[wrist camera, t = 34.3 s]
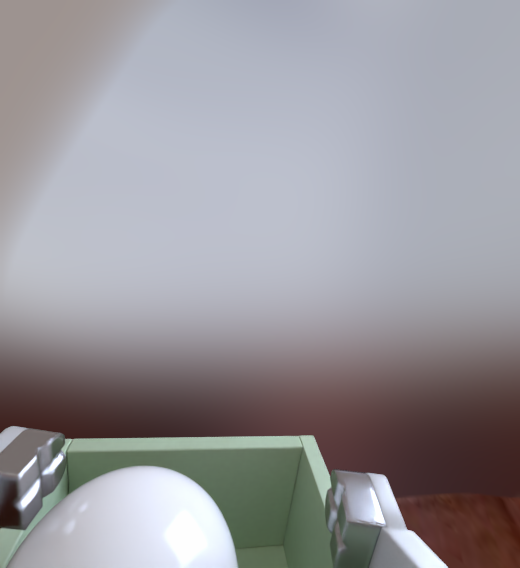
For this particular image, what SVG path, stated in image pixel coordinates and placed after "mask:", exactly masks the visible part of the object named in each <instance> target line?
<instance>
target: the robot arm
mask: <svg viewBox="0 0 520 568" xmlns="http://www.w3.org/2000/svg"><path fill="white" fill-rule="evenodd" d="M64 445H65V436H64V435H63V434H61V433H55V432H49V431H43V430H37V429H30V428H22V427H16V426H12V427H9V428H7V429H5V430H4V431H3V432H2V433H1V434H0V528H5V529H15V530H26V529H27V527H28V526H29V524H30V523H31V522H32V520H33V519H34V518H35V516H36V515H37V514H38V512H39V511H40V509H41V508H42V507H43V498H44V497H45V496H47V495H49V494H50V493H52V492H54V490H55V489H56V487H57V486H58V484H59V483H60V481H61V479H62V477H63V474H64V472H65V468H66V463H67V462H66V455H65V454H64V453H63V451H62V450H61V449H62V448H63V446H64ZM330 481H331V488H330V489H328V490H327V494H326V499H325V519H326V526H327V529H328V530H329V531H330V533H331V534H332V536H331V540H330V544H329V545H330V551H331V557H332V563H333V568H448V567H447V566H446V565H445V564H444V563H443V562H442V560H441V559H440V558H439V557H438V556H437V555H436V554H435V553H434V552H433V551H432V550H431V549H430V548H429V547H428V546H427V545H426V544H425V543H424V542H423V541H422V540H421V539H420V538H419V537H418V536H417V535H416V534H415V533H414V532H413V531H409V530H407V528H406V525H405V523H404V520H403V518H402V515H401V513H400V510H399V508H398V505H397V503H396V500H395V498H394V495H393V493H392V491H391V488H390V485H389V483H388V480H387V478H386V477H385V476H384V475H379V474H371V473H363V472H354V471H347V470H338V469H333V471H332V473H331V477H330Z"/></svg>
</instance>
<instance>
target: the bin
mask: <svg viewBox="0 0 520 568" xmlns="http://www.w3.org/2000/svg"><path fill="white" fill-rule="evenodd" d="M61 450H62V451H63V453H64V454H65V455H66V462H67V463H66V468H65V472H64V474H63V477H62V479H61V481H60V483H59V484H58V486H57V487H56V489H55V490H54V492H52V493H50V494H49V495H47V496H45V497H44V498H43V507H42V508H41V509H40V511H39V512H38V514H37V515H36V516H35V518H34V519H33V520H32V522H31V523H30V524H29V526H28V527H27V529H26V530H15V529H5V528H1V529H0V568H6V566H7V565H8V563H9V561H10V560H11V558H12V556H13V555H14V553H15V552H16V550H17V549H18V547H19V546H20V544H21V543H22V542H23V540H24V539H25V538H26V536H27V535H28V534H29V533H30V531H31V530H32V529H33V528H34V527H35V525H36V524H37V523H38V522H39V521H40V520H41V519H42V518H43V517H44V516H45V515H46V514H47V513H48V512H49V511H50V510H51V509H52V508H53V507H54V506H55V505H56V504H57V503H58V502H60V501H61V500H62V499H63V498H65V497H66V496H67V495H68V494H70V493H71V492H73V491H74V490H75V489H77V488H78V487H80V486H82V485H83V484H85V483H87V482H88V481H90V480H92V479H94V478H96V477H98V476H101V475H103V474H105V473H108V472H111V471H114V470H118V469H121V468H126V467H132V466H158V467H164V468H168V469H171V470H174V471H177V472H179V473H181V474H183V475H185V476H187V477H189V478H190V479H192V480H193V481H195V482H196V483H197V484H199V485H200V486H201V487H202V488H203V489H204V490H205V491H206V492H207V493H208V494H209V495H210V496H211V498H212V499H213V500H214V502H215V503H216V504H217V506H218V508H219V509H220V511H221V513H222V515H223V517H224V518H225V521H226V523H227V525H228V528H229V530H230V533H231V536H232V539H233V543H234V547H235V551H236V556H237V562H238V568H333V563H332V557H331V551H330V545H329V544H330V540H331V536H332V534H331V533H330V531H329V530H328V529H327V526H326V519H325V499H326V494H327V490H328V489H330V488H331V481H330V475H329V473H328V471H327V468H326V466H325V463H324V461H323V458H322V456H321V453H320V451H319V448H318V446H317V443H316V441H315V439H314V436H266V437H265V436H261V437H191V438H190V437H189V438H188V437H184V438H111V439H110V438H107V439H73V440H72V439H65V445H64V446H63V448H62V449H61Z"/></svg>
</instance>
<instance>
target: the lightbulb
mask: <svg viewBox="0 0 520 568" xmlns="http://www.w3.org/2000/svg"><path fill="white" fill-rule="evenodd" d="M6 568H238V562H237V556H236V551H235V547H234V543H233V539H232V536H231V533H230V530H229V528H228V525H227V523H226V521H225V518H224V517H223V515H222V513H221V511H220V509H219V508H218V506H217V504H216V503H215V502H214V500H213V499H212V498H211V496H210V495H209V494H208V493H207V492H206V491H205V490H204V489H203V488H202V487H201V486H200V485H199V484H197V483H196V482H195V481H193V480H192V479H190V478H189V477H187V476H185V475H183V474H181V473H179V472H177V471H174V470H171V469H168V468H164V467H158V466H132V467H126V468H121V469H118V470H114V471H111V472H108V473H105V474H103V475H101V476H98V477H96V478H94V479H92V480H90V481H88V482H87V483H85V484H83V485H82V486H80V487H78V488H77V489H75V490H74V491H73V492H71V493H70V494H68V495H67V496H66V497H65V498H63V499H62V500H61V501H60V502H58V503H57V504H56V505H55V506H54V507H53V508H52V509H51V510H50V511H49V512H48V513H47V514H46V515H45V516H44V517H43V518H42V519H41V520H40V521H39V522H38V523H37V524H36V525H35V527H34V528H33V529H32V530H31V531H30V533H29V534H28V535H27V536H26V538H25V539H24V540H23V542H22V543H21V544H20V546H19V547H18V549H17V550H16V552H15V553H14V555H13V556H12V558H11V560H10V561H9V563H8V565H7V566H6Z"/></svg>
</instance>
